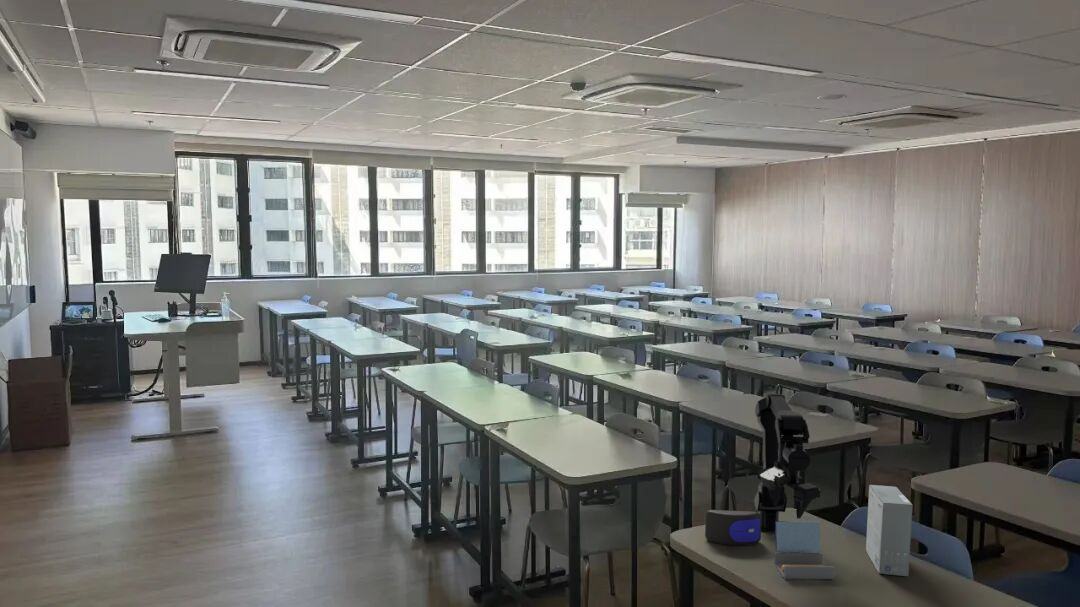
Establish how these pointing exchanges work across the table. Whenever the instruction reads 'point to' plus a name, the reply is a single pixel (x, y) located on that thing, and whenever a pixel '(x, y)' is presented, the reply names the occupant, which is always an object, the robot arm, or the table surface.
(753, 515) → the grey blue curved block
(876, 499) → the hard drive box
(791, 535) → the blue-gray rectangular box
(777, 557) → the cable duct
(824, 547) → the table surface
